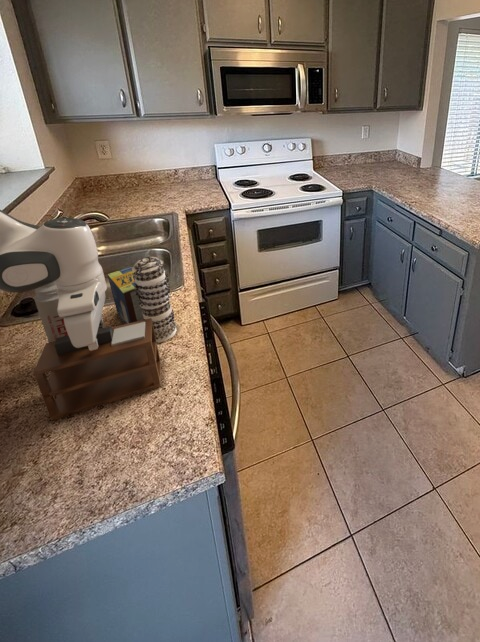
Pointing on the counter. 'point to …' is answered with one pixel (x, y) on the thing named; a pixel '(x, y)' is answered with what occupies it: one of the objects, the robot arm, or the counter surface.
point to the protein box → (125, 295)
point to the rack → (98, 373)
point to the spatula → (105, 337)
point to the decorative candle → (155, 296)
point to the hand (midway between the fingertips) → (97, 337)
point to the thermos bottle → (50, 311)
